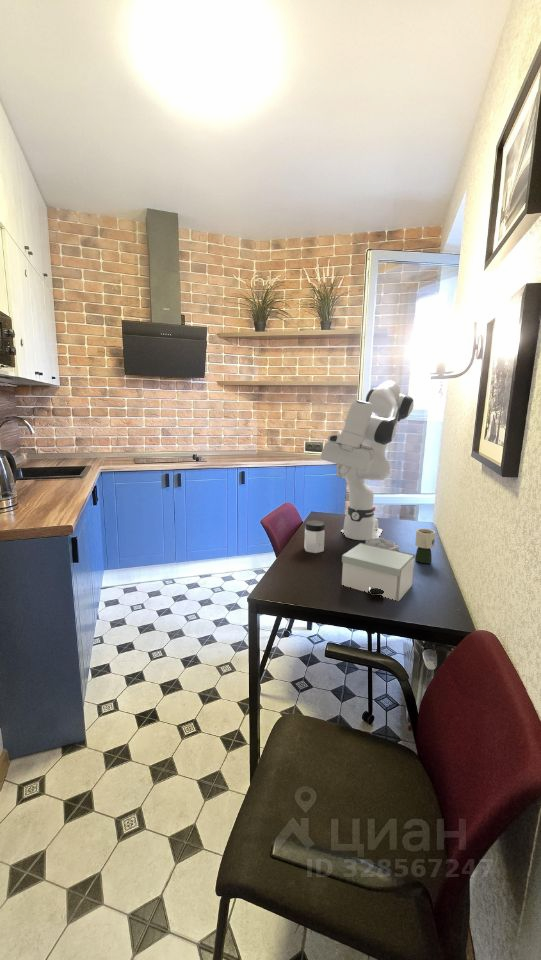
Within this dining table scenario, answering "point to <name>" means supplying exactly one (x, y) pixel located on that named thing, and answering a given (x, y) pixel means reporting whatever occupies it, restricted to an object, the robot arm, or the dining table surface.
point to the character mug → (424, 545)
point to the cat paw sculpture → (383, 543)
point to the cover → (377, 559)
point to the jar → (314, 536)
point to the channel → (379, 579)
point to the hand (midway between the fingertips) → (340, 477)
